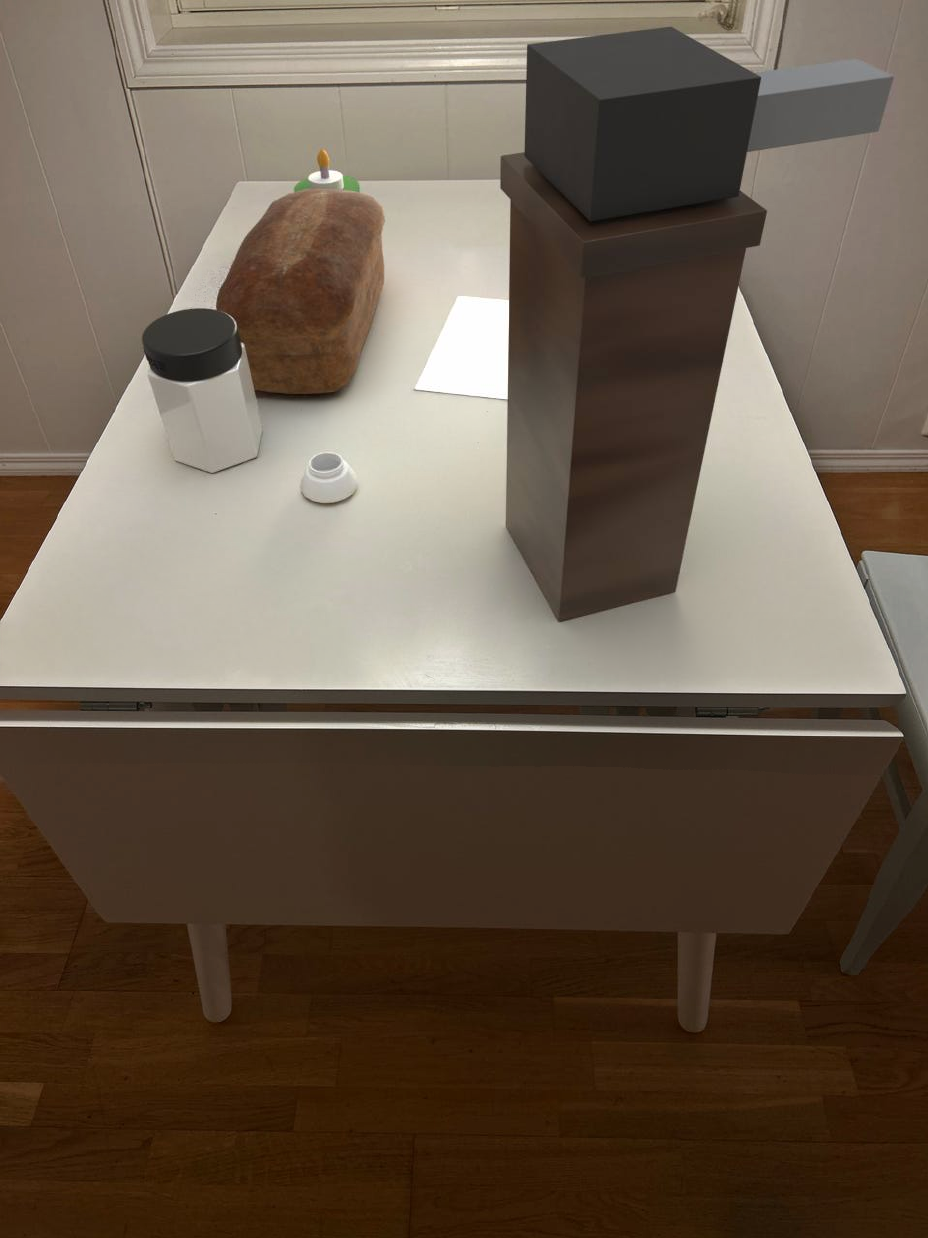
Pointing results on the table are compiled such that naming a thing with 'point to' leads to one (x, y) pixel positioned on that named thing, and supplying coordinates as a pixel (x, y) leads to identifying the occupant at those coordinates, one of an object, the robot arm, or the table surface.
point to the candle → (327, 178)
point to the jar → (203, 388)
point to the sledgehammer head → (676, 117)
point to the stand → (612, 383)
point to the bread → (307, 289)
